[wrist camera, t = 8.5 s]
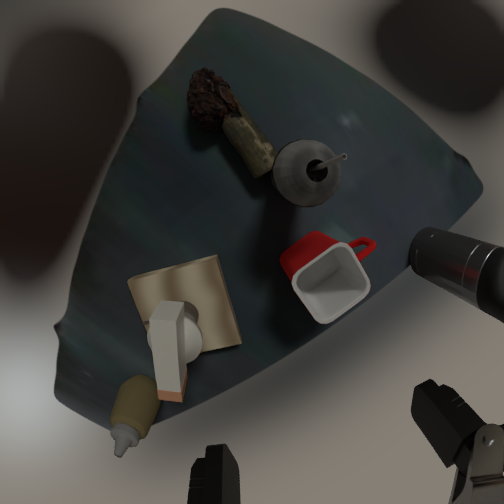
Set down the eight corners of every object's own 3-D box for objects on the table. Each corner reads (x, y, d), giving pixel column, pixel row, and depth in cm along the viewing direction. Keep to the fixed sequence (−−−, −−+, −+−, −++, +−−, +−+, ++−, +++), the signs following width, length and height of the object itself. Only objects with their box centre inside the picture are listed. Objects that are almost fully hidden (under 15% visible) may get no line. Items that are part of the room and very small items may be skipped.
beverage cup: (250, 178, 39) (266, 167, 19) (284, 142, 38) (329, 102, 18) (287, 212, 40) (336, 235, 20) (320, 177, 39) (391, 169, 20)
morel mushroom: (281, 161, 39) (288, 158, 33) (242, 187, 39) (244, 187, 34) (213, 71, 35) (210, 55, 29) (175, 95, 35) (167, 82, 30)
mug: (302, 297, 43) (321, 328, 33) (273, 256, 41) (285, 278, 31) (362, 253, 42) (396, 272, 32) (337, 210, 40) (368, 217, 30)
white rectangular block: (146, 294, 32) (129, 317, 26) (203, 299, 32) (196, 323, 26) (153, 368, 34) (142, 396, 28) (203, 373, 35) (199, 403, 28)
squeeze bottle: (149, 405, 46) (127, 473, 29) (117, 381, 45) (85, 446, 27) (173, 389, 46) (154, 462, 28) (139, 362, 44) (107, 432, 26)
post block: (217, 254, 41) (212, 272, 32) (241, 335, 44) (243, 367, 35) (132, 276, 40) (110, 297, 32) (162, 351, 44) (150, 383, 35)
